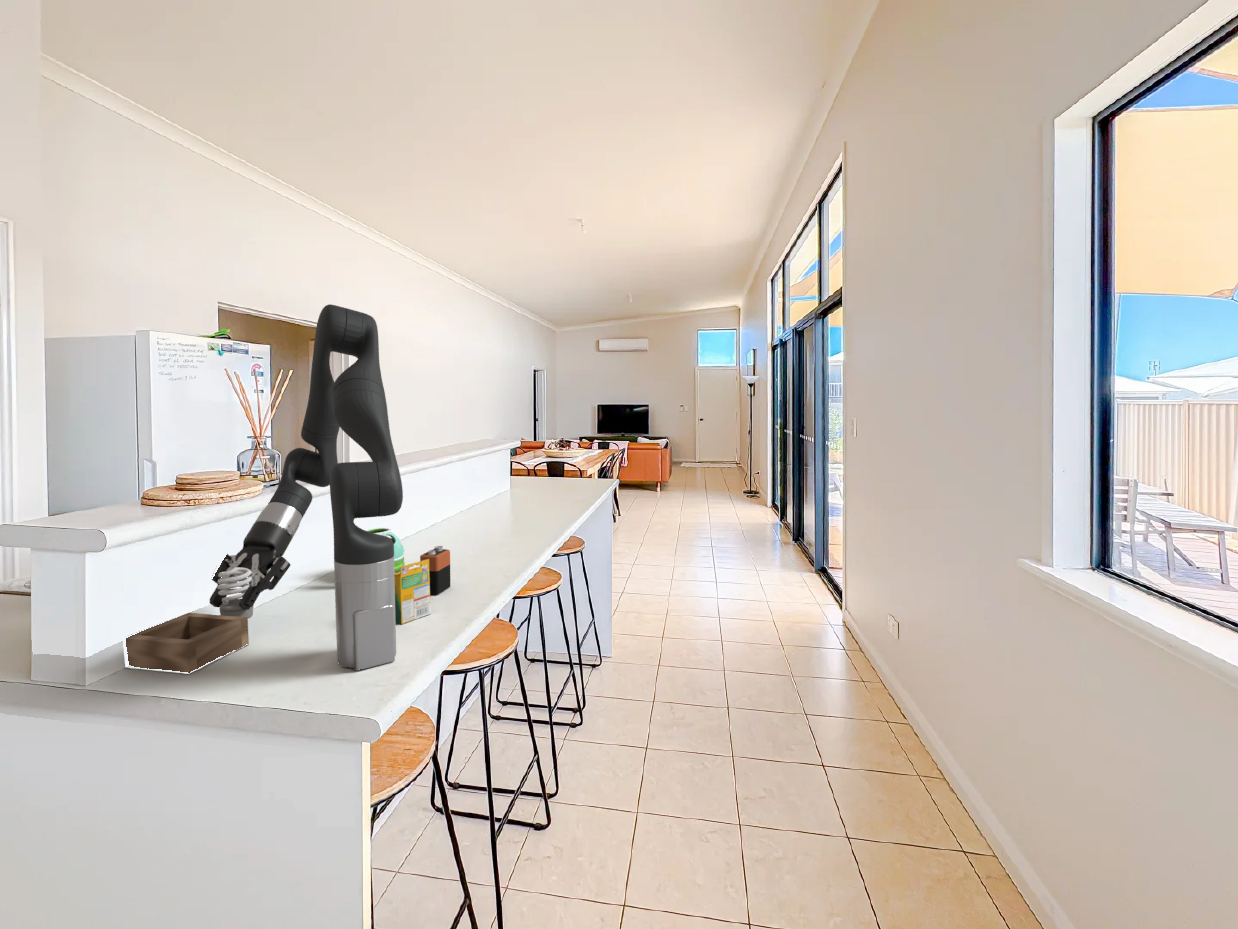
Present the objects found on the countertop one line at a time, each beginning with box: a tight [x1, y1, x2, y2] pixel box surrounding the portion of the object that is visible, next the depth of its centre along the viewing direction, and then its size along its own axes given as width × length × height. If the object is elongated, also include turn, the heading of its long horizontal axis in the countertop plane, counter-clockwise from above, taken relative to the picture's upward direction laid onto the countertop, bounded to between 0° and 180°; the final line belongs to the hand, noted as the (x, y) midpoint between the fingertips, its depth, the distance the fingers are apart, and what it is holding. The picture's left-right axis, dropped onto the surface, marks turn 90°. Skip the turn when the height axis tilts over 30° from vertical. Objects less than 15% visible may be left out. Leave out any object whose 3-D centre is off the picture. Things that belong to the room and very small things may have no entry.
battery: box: [419, 545, 451, 596], centre depth 136 cm, size 4×7×10 cm, turn 170°
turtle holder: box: [364, 527, 406, 573], centre depth 144 cm, size 12×18×12 cm
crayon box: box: [394, 559, 432, 625], centre depth 119 cm, size 7×3×12 cm, turn 148°
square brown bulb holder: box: [126, 612, 250, 673], centre depth 99 cm, size 12×12×5 cm
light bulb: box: [216, 567, 254, 620], centre depth 111 cm, size 6×6×12 cm
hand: (228, 606), depth 109 cm, fingers closed on light bulb, 5 cm apart
